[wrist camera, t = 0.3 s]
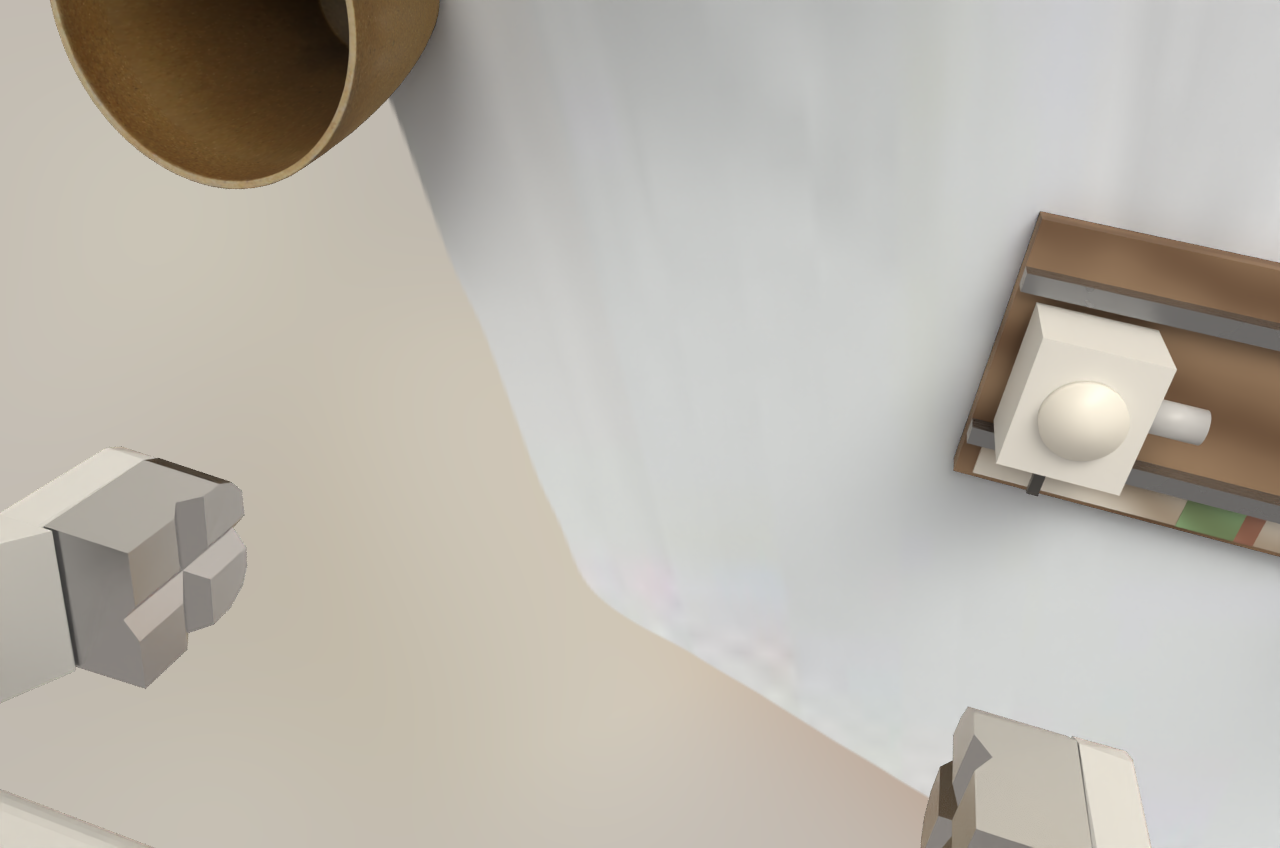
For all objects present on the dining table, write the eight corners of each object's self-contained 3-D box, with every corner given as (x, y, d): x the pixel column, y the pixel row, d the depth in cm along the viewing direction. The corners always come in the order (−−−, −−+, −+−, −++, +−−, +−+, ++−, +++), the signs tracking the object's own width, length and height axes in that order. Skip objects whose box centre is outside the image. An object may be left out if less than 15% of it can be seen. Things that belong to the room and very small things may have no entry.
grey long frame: (1025, 266, 51) (1033, 312, 45) (1593, 393, 47) (1685, 465, 41) (966, 433, 56) (967, 495, 50) (1475, 563, 52) (1542, 649, 46)
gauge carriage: (1036, 302, 51) (1044, 342, 46) (1221, 344, 50) (1249, 391, 45) (976, 467, 56) (977, 519, 51) (1142, 511, 55) (1159, 569, 50)
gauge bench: (1040, 211, 51) (1042, 220, 50) (1608, 333, 47) (1629, 347, 45) (953, 458, 59) (953, 472, 57) (1437, 584, 54) (1451, 604, 53)
